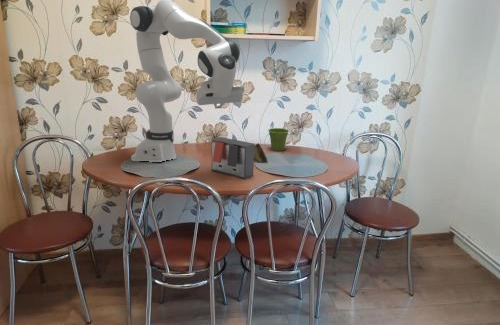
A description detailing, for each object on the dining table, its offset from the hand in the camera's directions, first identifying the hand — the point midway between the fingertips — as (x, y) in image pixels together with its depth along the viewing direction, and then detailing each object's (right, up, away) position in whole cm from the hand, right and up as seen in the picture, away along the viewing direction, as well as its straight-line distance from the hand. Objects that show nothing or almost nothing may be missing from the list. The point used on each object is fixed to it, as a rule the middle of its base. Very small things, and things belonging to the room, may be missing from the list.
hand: (217, 107), depth 162 cm
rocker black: (+7, -27, -6) cm, 28 cm away
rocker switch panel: (+6, -30, +2) cm, 31 cm away
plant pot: (+31, -18, +43) cm, 56 cm away
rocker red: (0, -25, -3) cm, 25 cm away
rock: (+19, -24, +23) cm, 39 cm away
